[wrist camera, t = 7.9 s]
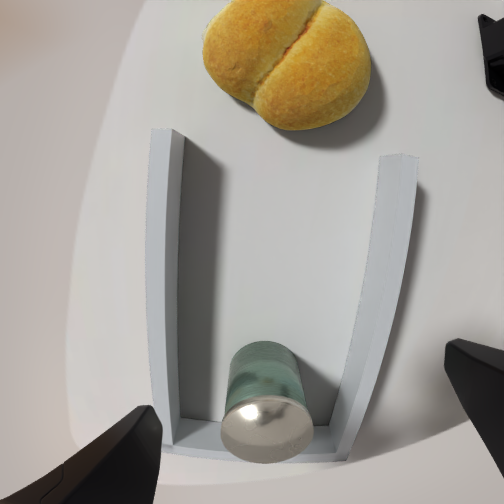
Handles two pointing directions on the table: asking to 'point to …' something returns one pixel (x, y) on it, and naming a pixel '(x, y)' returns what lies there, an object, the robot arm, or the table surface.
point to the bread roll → (288, 60)
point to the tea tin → (265, 405)
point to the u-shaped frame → (366, 327)
